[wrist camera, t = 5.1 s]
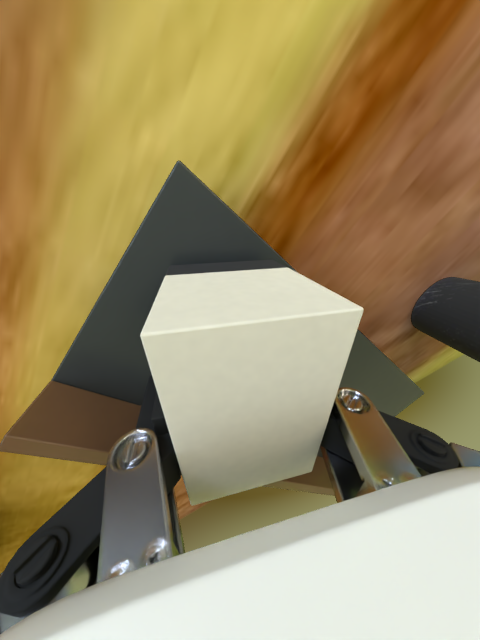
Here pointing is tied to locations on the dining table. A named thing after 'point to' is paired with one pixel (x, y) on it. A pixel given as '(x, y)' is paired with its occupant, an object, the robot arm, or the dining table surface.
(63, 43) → the dining table surface
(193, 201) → the shelf
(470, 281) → the travel mug
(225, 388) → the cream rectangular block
